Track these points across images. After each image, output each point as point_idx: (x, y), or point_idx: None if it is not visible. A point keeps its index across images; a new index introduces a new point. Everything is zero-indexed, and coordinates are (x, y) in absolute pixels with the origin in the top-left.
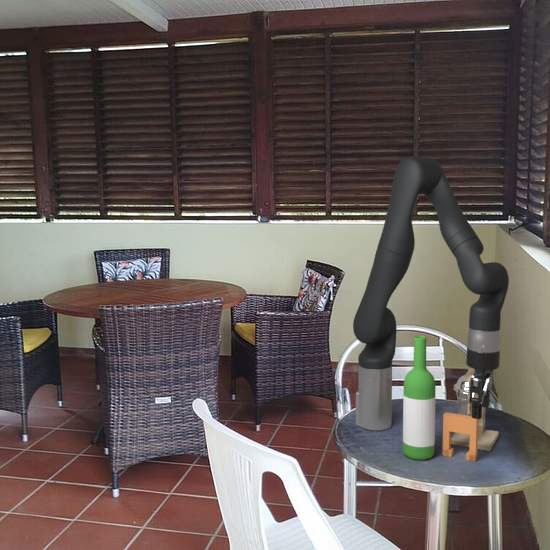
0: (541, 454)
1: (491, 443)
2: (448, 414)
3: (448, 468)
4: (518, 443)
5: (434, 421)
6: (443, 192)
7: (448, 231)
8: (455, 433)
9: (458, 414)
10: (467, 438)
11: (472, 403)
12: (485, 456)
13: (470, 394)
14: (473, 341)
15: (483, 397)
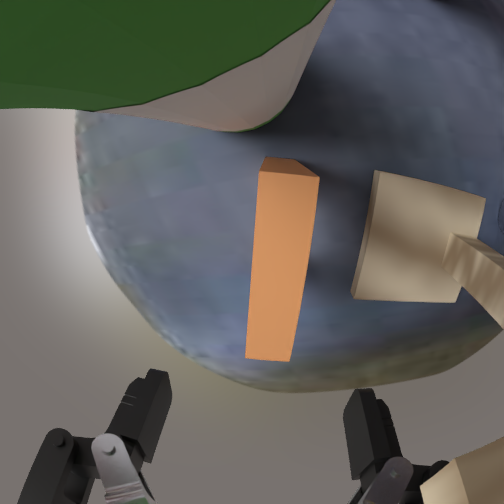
0: (352, 384)
1: (376, 299)
2: (276, 205)
3: (172, 195)
4: (409, 341)
5: (202, 124)
6: None
7: None
8: (432, 186)
9: (300, 267)
10: (402, 227)
11: (120, 433)
12: (307, 284)
13: (35, 467)
14: None
15: (360, 443)
